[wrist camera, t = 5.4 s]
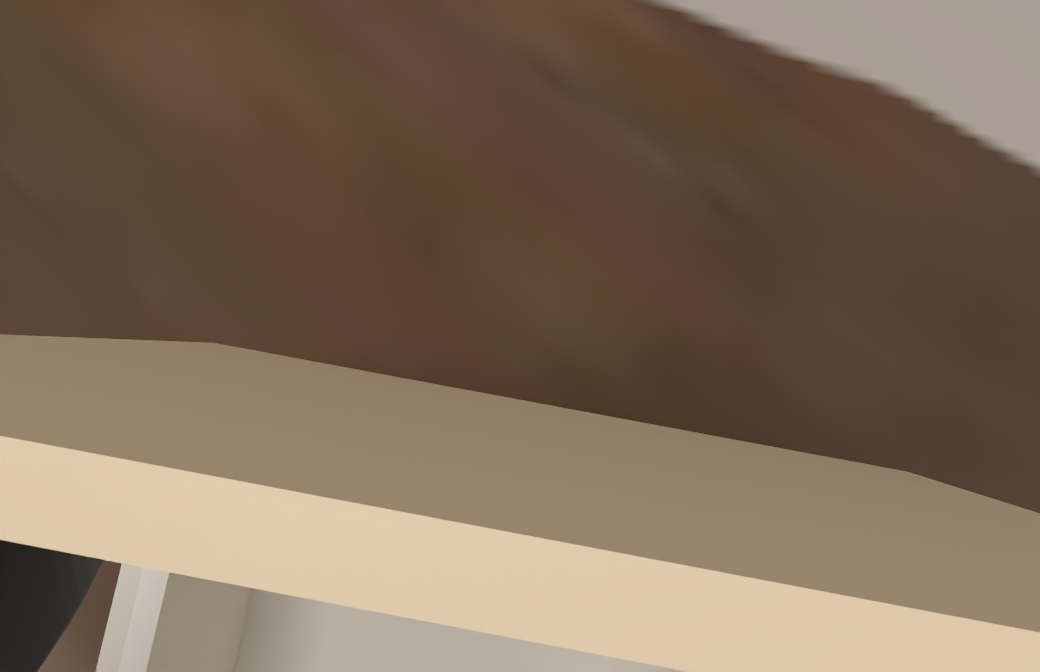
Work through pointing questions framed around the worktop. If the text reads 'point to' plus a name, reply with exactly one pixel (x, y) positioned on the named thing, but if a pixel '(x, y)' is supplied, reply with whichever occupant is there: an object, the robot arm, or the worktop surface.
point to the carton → (302, 635)
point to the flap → (506, 514)
